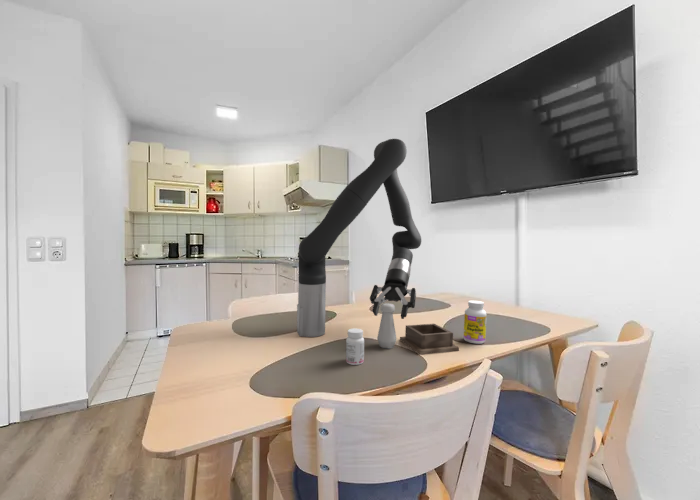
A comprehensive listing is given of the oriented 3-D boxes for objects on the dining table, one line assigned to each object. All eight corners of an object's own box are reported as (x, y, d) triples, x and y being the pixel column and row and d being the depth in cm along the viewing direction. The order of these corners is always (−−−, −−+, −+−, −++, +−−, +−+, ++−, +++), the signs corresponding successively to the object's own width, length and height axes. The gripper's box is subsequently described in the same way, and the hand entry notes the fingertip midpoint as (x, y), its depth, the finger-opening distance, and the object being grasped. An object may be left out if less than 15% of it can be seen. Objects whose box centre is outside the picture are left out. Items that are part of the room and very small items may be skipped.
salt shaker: (395, 350, 93) (396, 306, 93) (376, 348, 94) (377, 305, 94) (396, 343, 99) (397, 302, 98) (378, 342, 100) (379, 301, 100)
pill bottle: (359, 357, 87) (360, 327, 87) (366, 364, 83) (367, 332, 83) (343, 359, 86) (344, 328, 85) (349, 366, 81) (350, 333, 81)
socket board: (419, 354, 90) (420, 337, 90) (399, 339, 103) (400, 324, 103) (458, 350, 94) (459, 333, 94) (435, 337, 107) (435, 322, 106)
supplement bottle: (462, 342, 102) (464, 302, 101) (463, 336, 108) (465, 299, 107) (485, 345, 99) (487, 304, 98) (485, 339, 105) (486, 300, 105)
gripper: (375, 266, 107) (363, 306, 97) (418, 268, 102) (410, 311, 92) (380, 280, 113) (369, 319, 103) (420, 283, 107) (413, 325, 97)
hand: (388, 315), depth 97 cm, fingers open, 8 cm apart
